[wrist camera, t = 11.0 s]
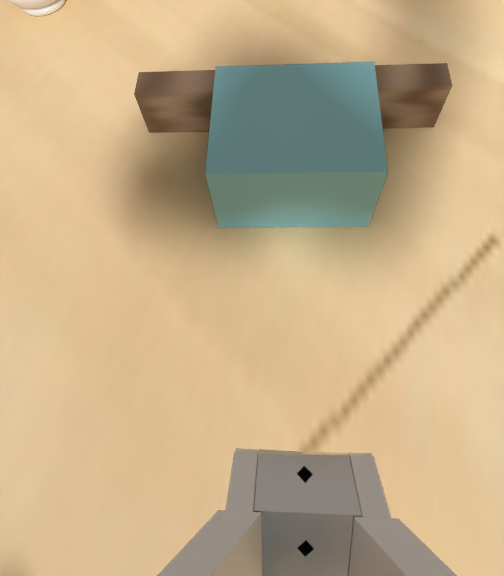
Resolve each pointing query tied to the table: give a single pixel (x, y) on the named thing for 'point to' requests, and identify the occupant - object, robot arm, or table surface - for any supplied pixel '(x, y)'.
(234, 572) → the robot arm
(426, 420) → the table surface
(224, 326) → the table surface
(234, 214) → the teal block
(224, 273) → the table surface
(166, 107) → the walnut board
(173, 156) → the table surface
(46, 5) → the flower vase
